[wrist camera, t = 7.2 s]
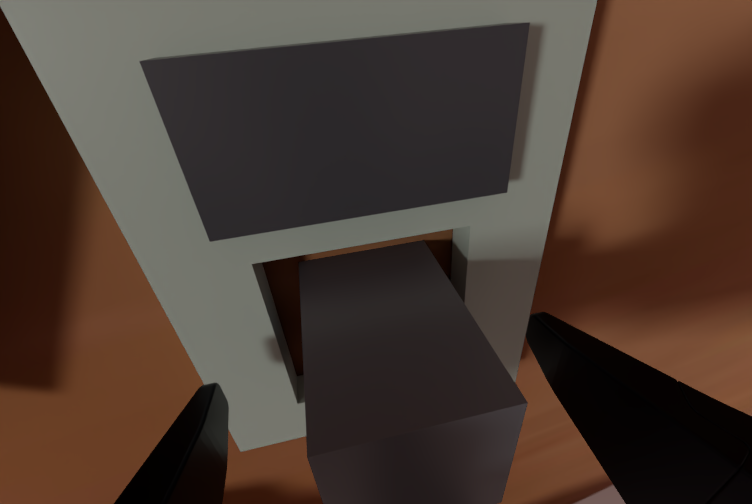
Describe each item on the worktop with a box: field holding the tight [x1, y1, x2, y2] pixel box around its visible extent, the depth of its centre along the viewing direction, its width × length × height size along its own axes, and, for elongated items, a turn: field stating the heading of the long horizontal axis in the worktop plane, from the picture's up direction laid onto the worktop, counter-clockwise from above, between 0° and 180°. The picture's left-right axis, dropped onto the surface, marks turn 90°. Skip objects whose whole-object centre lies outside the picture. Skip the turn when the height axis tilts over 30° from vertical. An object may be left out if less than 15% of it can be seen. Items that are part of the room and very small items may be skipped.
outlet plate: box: [0, 0, 597, 452], centre depth 10 cm, size 14×11×2 cm
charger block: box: [299, 240, 528, 504], centre depth 10 cm, size 4×4×6 cm
